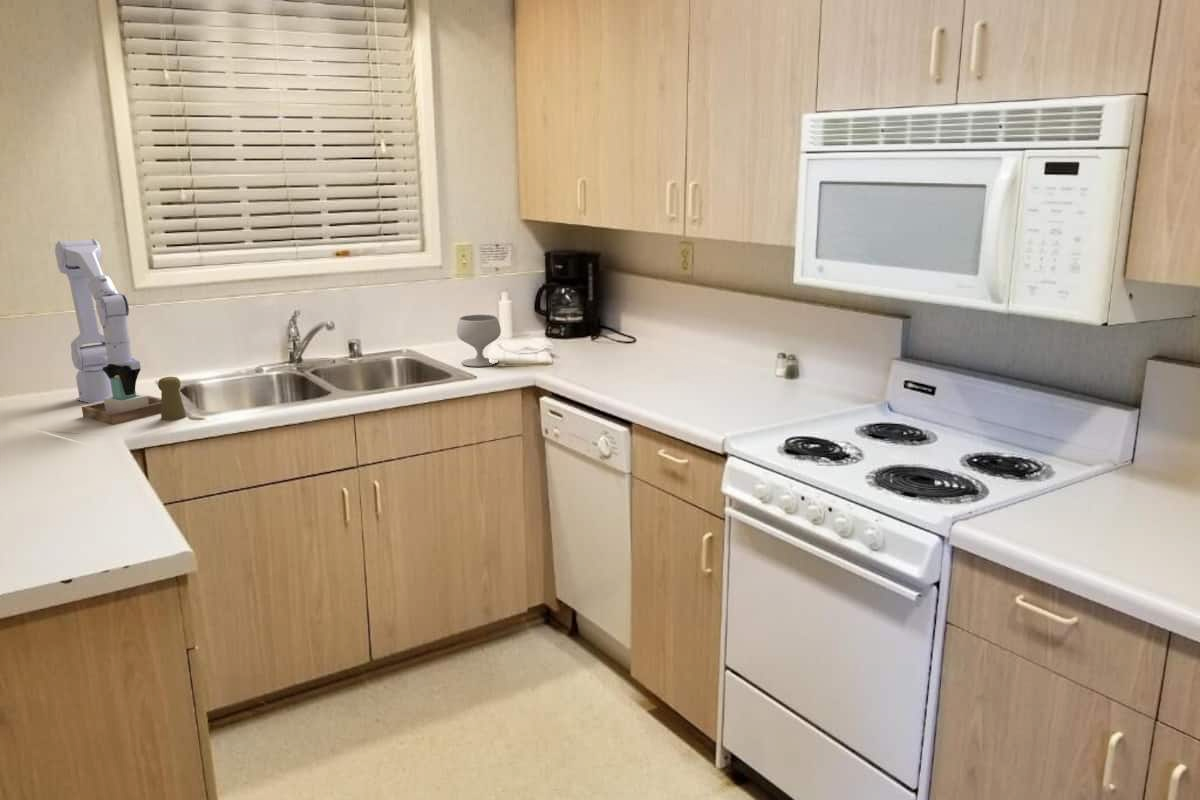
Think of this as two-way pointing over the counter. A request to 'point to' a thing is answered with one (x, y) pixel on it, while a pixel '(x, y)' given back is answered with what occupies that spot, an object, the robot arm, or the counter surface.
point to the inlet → (125, 403)
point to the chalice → (478, 335)
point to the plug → (119, 389)
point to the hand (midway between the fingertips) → (125, 393)
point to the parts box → (122, 412)
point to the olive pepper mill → (171, 399)
